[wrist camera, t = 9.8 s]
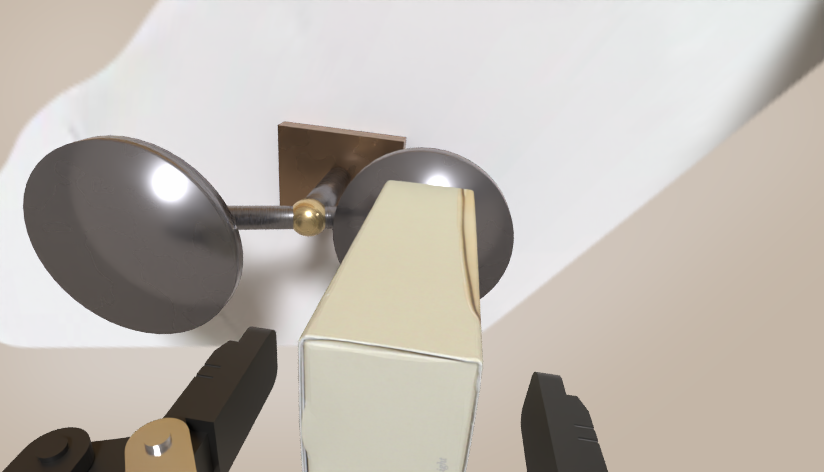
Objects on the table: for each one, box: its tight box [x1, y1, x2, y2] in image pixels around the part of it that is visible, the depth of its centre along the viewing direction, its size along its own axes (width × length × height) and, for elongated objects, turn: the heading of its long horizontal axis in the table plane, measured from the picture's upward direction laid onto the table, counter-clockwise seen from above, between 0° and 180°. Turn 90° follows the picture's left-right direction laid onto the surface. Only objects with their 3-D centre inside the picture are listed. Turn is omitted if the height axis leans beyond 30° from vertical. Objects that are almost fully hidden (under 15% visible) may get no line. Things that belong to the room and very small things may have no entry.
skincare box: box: [298, 180, 483, 472], centre depth 16 cm, size 6×4×12 cm
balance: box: [23, 122, 514, 334], centre depth 24 cm, size 21×9×13 cm, turn 84°
